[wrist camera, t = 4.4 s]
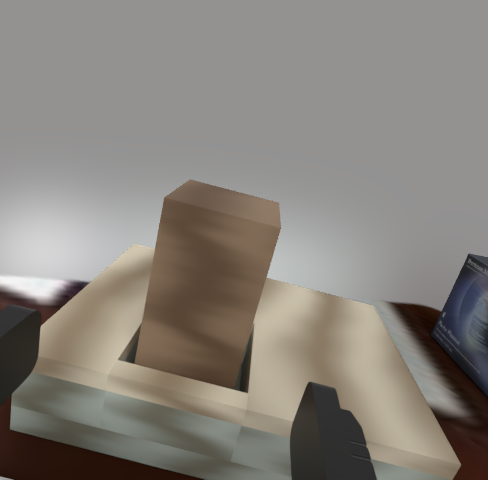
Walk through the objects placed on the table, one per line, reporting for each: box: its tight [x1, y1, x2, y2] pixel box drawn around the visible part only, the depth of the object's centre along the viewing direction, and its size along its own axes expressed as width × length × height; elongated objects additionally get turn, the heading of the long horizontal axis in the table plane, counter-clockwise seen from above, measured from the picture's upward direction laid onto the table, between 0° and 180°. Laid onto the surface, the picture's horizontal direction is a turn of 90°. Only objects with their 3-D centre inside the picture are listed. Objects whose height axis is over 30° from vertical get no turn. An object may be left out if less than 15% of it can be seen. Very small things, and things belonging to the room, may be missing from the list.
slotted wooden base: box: [10, 244, 461, 480], centre depth 26 cm, size 22×16×5 cm
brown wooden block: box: [134, 180, 281, 389], centre depth 21 cm, size 5×5×12 cm
